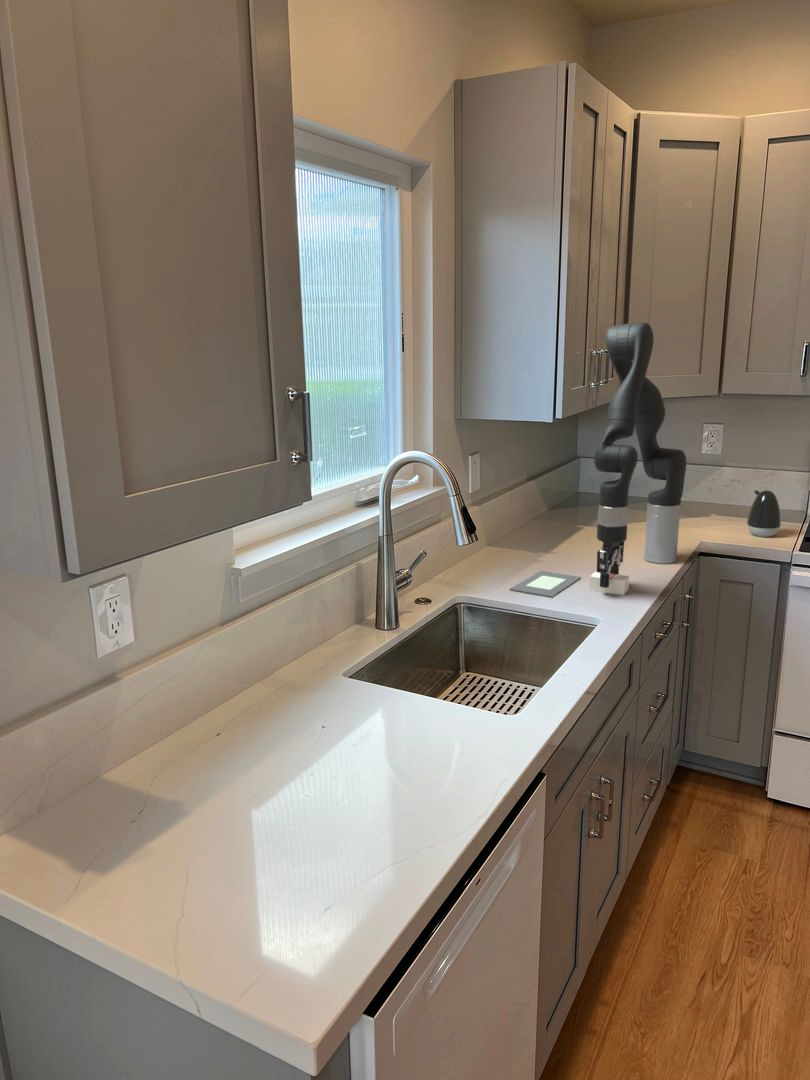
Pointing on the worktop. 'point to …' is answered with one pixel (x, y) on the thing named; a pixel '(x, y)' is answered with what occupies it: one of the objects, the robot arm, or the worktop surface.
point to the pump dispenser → (764, 515)
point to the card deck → (610, 584)
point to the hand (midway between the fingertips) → (609, 583)
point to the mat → (545, 583)
